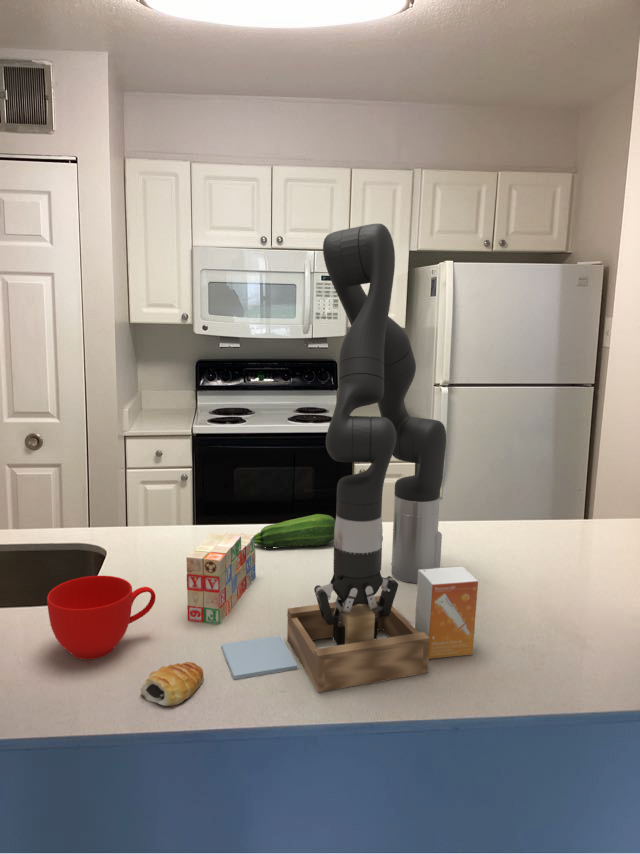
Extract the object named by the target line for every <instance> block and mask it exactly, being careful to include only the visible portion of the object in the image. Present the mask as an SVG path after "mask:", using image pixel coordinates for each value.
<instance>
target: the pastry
mask: <svg viewBox="0 0 640 854" xmlns="http://www.w3.org/2000/svg"><path fill="white" fill-rule="evenodd" d="M203 681H204V671H203V667H201V666H199V665H198V664H196V663H195V662H192V661H191V662H189V661H187V662H182V663H175V664H169V665H168V666H161V667H160V668H159V669H158V670H155V671H152V672H151V673H149V675H148V677H147V678H146V680H145V681H144V682H143V684H142V686H141V687H140V693H141V694H142V696H143V698H145V700H147V701H148V702H150V703H151V702H152V703H156V704H159V705H161V706H164V707H169V706H171V707H172V706H173V707H174V706H177V705H179V704H181V703H182V702H184V701H185V700H187V699H189V698H190V697H191V696H192V695H193V694H194V693H195V692H196V691H197V690H198V689H199V687H200V686H201V684H202V683H203Z"/></svg>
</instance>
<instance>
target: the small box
mask: <svg viewBox="0 0 640 854" xmlns="http://www.w3.org/2000/svg"><path fill="white" fill-rule="evenodd" d="M478 588H479V580H478V579H476V578H475V577H474V576H473V575H472V573H470V572H469V570H467V569H466V568H465V567H464V566H453V567H452V566H451V567H440V568H434V569H423V570H418V581H417V583H416V604H415V617H414V618H415V620H414V628H415V629H416V630H417V631H418V632H419V633H421V632H424V633H425V634H426V635H427V636H428V637H429V638H430V641H429V660H432V659H439V658H450V657H459V656H460V657H461V656H472V655H474V641H475V632H476V631H475V629H476V628H475V627H476V618H477V617H476V616H477V615H476V613H477V602H478V590H479V589H478Z"/></svg>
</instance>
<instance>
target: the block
mask: <svg viewBox="0 0 640 854" xmlns="http://www.w3.org/2000/svg"><path fill="white" fill-rule="evenodd" d="M374 623H375V614H374V613H373V612H372V611H371V612H370V611H369V609H368V608H367V607H366V606H365V605H363V604H357V605H355V606H352V607H351V610H350V613H349V614H348V615H346V621H345V624H344V626H345V644H351V643H357V642H363V641H370V640H375V639H374ZM336 646H338V645H337V644H336Z"/></svg>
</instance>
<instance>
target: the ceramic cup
mask: <svg viewBox="0 0 640 854" xmlns="http://www.w3.org/2000/svg"><path fill="white" fill-rule="evenodd" d="M132 586H133V585H132V584H131V583H130V582H129V581H128V580H126V579H124V578H121V577H118V576H113V575H90V576H89V575H88V576H82V577H78V578H74V579H70V580H67V581H65V582H62V583H60V584H58V585H56V586H54V587H53V588H52V589H51V590H50V591H49V592H48V595H47V596H46V602H47V605H46V606H47V612H48V619H49V623H50V627H51V631H52V632H53V635H54V637H55V638H56V640H57V641H58V643H59V644H60V645H61V647H62V648H63V649H65V650H66V651H67V652H68V653H69V654H71V655H72V656H73V657H74V658H76V659H79V660H94V659H95V660H96V659H99V658H103V657H104V656H108V655H109V654H111V653H112V652H113V651H114V649H115V647H116V646H117V645H118V644H119V643H120V642H121V641H122V638H123V637H124V635H125V633H126V632H127V629H128V627H129V625H130V624H132V623H134V622H136V621H137V620H139V619H141V618H143V617H144V616H146V615H147V614H148V613H149V612H150V611H151V610H152V608H153V606H154V605H155V603H156V592H155V591H154V590H153V588H151V587H150V586H141V587H139V588H137V589H135V590H134V591H133V587H132ZM143 593H150V599H149V601H148V603H147V604H146V606H144V608H143V609H142V610H140V611H138V612H137V613H135V614H134V615H132V607H133V604H134V601H135V600H136V598H137V597H138V596H139V595H141V594H143Z"/></svg>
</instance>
